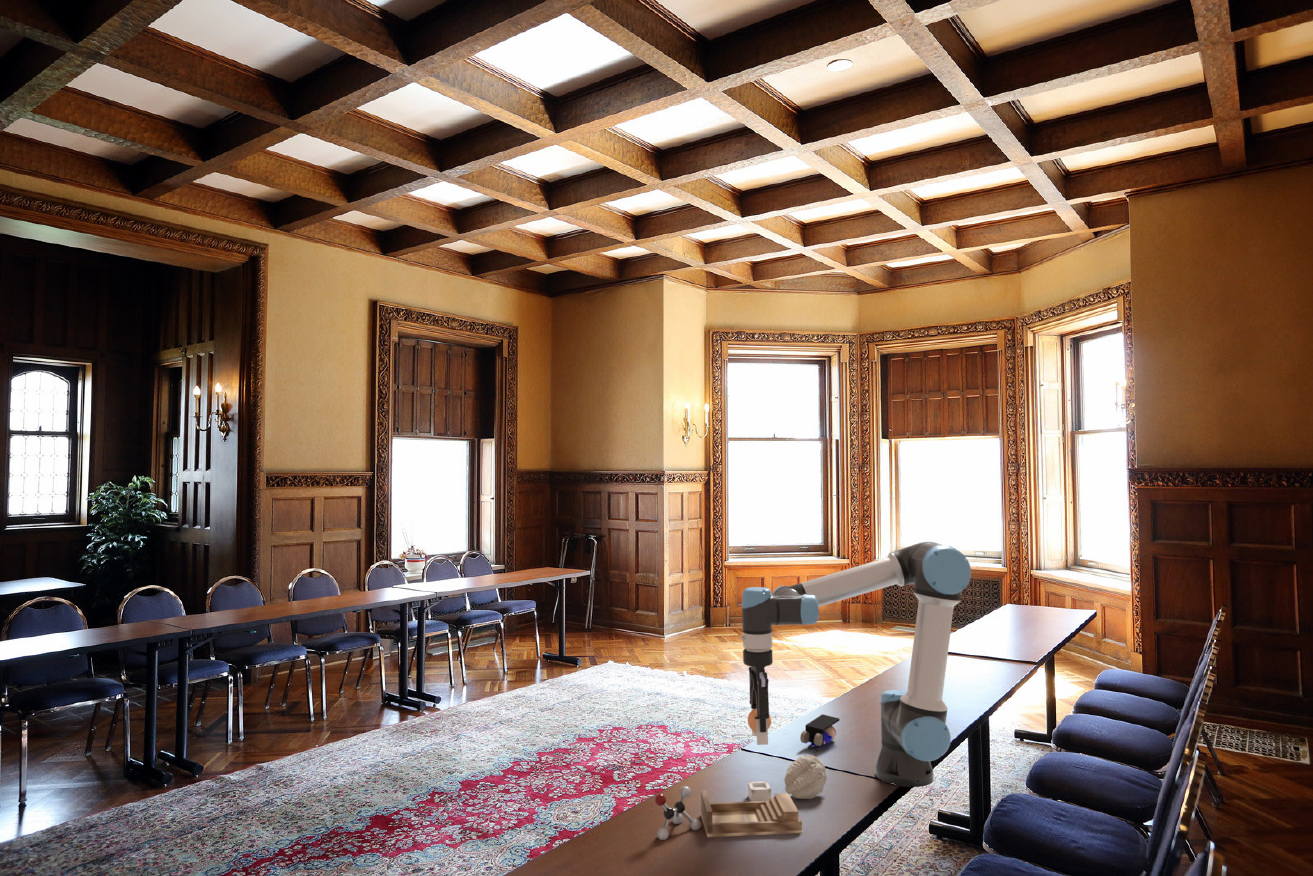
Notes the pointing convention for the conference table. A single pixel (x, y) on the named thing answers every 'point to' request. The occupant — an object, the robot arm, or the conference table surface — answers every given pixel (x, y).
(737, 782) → the conference table surface
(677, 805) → the molecular model
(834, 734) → the figurine character
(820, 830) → the conference table surface
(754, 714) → the ball
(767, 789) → the white open box
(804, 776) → the fossil replica
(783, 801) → the wooden stepped tray
